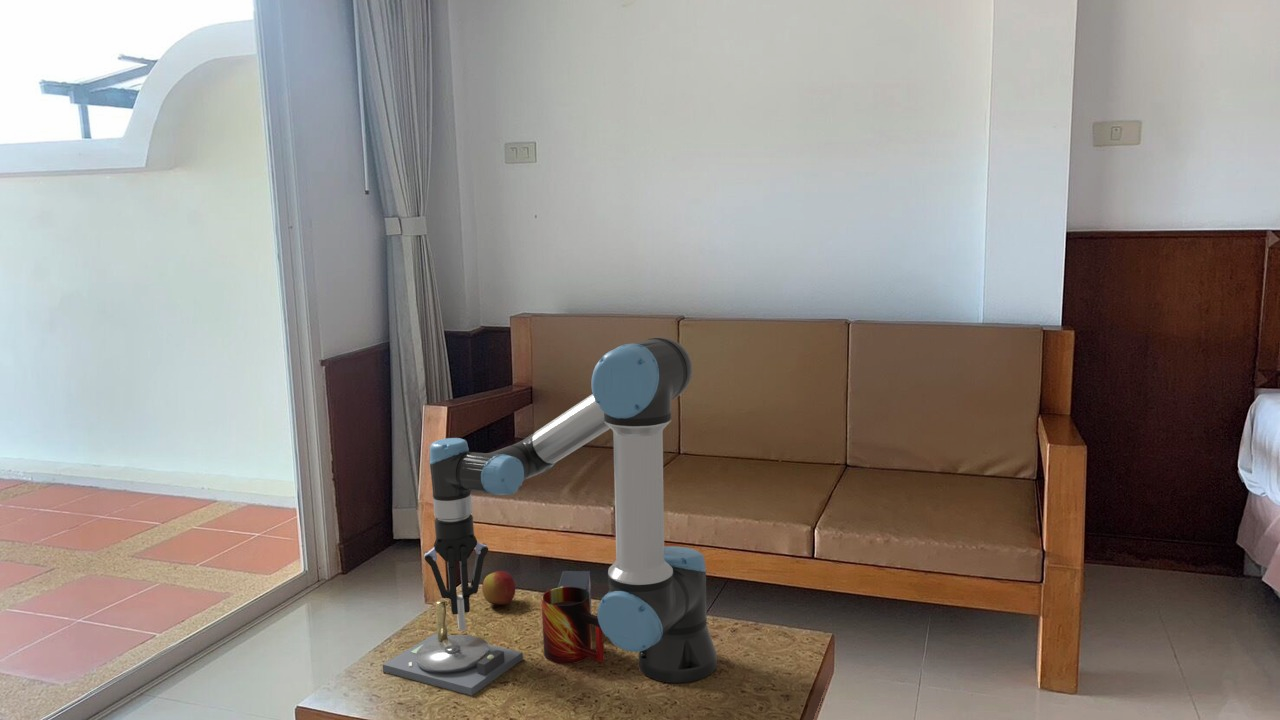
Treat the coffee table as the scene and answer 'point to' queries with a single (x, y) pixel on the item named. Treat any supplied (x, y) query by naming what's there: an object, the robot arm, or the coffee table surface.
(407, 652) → the record turntable
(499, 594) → the apple
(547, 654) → the mug
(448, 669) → the crank wheel
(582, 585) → the small box
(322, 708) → the coffee table surface
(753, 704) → the coffee table surface
